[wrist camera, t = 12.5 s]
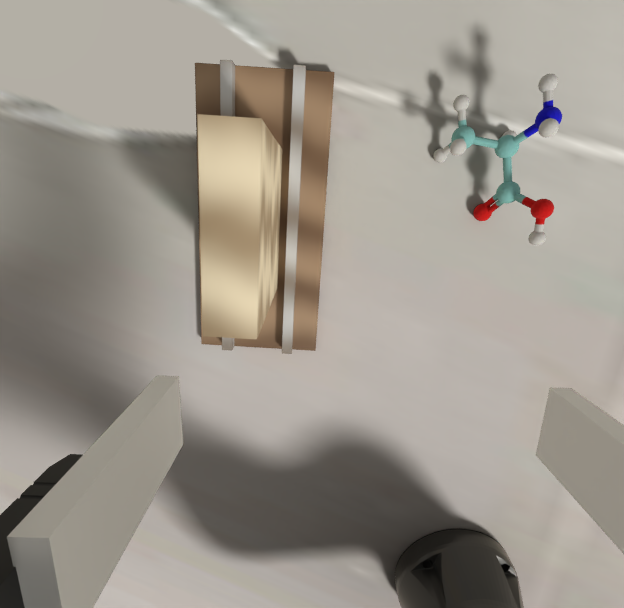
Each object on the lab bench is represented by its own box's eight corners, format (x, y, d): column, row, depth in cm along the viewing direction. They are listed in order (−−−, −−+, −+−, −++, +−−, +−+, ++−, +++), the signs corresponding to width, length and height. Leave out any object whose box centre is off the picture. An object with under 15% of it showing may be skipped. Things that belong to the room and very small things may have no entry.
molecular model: (394, 188, 32) (506, 139, 23) (429, 103, 35) (542, 30, 26) (474, 258, 37) (591, 239, 28) (499, 179, 40) (615, 140, 31)
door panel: (277, 288, 37) (256, 339, 24) (242, 286, 37) (202, 336, 24) (282, 149, 34) (261, 118, 20) (243, 146, 34) (197, 114, 20)
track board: (315, 346, 40) (315, 355, 38) (204, 340, 40) (198, 348, 38) (333, 75, 33) (335, 67, 31) (198, 66, 33) (190, 57, 31)
